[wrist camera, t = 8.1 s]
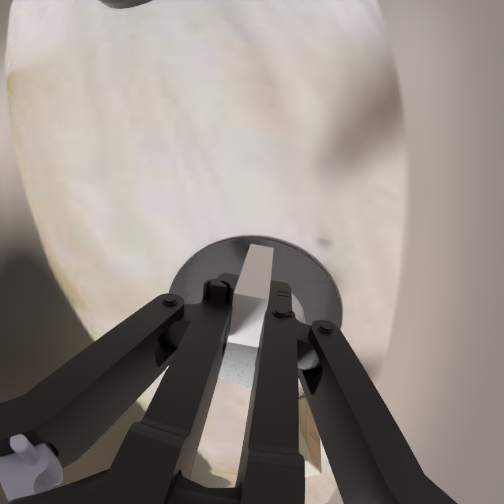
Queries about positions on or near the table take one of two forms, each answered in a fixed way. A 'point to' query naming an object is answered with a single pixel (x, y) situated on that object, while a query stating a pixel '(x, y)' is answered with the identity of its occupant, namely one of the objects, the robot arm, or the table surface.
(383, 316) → the table surface
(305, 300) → the platter
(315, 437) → the box
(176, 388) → the robot arm
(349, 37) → the table surface
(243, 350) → the ceramic mug
